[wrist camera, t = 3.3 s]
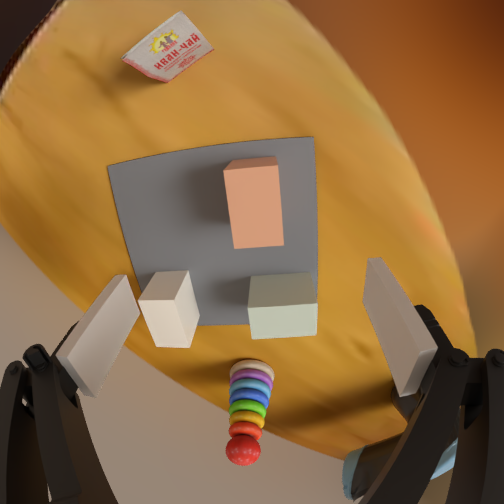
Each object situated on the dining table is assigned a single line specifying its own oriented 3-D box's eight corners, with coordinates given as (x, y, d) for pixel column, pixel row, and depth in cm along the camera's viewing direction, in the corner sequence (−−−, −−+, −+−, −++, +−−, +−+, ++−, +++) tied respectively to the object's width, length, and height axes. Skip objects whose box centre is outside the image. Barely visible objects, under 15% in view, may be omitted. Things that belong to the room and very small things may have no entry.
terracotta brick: (232, 160, 31) (223, 170, 25) (275, 156, 31) (278, 165, 25) (240, 224, 35) (234, 249, 28) (281, 221, 34) (283, 245, 28)
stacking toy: (259, 351, 45) (254, 452, 28) (281, 376, 48) (283, 467, 31) (221, 365, 47) (205, 458, 30) (245, 388, 50) (238, 474, 33)
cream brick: (155, 271, 39) (137, 300, 32) (188, 270, 38) (174, 299, 32) (169, 315, 42) (156, 346, 36) (199, 315, 42) (189, 347, 35)
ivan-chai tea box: (152, 63, 26) (111, 47, 17) (197, 29, 24) (171, -1, 15) (167, 82, 28) (130, 72, 19) (214, 49, 26) (192, 23, 17)
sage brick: (310, 272, 37) (317, 303, 31) (310, 301, 39) (316, 335, 33) (250, 276, 38) (247, 307, 32) (254, 305, 40) (252, 339, 34)
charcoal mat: (312, 136, 30) (313, 137, 29) (315, 318, 41) (316, 319, 41) (109, 165, 32) (107, 166, 32) (154, 323, 44) (153, 325, 43)
